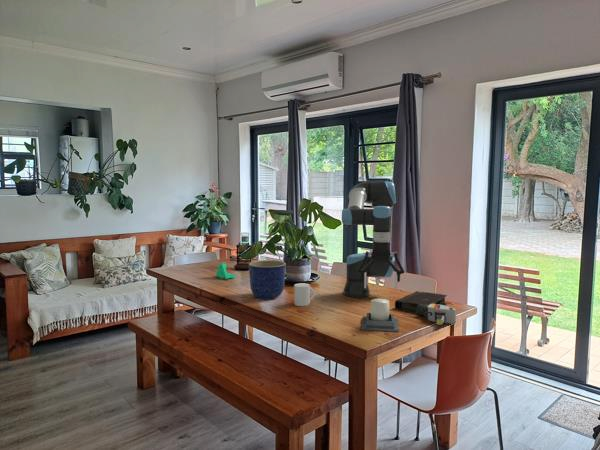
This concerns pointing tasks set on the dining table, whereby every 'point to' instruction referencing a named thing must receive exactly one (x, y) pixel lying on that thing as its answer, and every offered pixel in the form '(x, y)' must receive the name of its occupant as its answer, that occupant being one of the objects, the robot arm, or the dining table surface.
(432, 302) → the diary
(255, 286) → the planter
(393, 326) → the grey square tray
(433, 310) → the film camera
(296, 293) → the mug
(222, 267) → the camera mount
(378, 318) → the plug
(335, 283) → the dining table surface
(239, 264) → the dark piece
